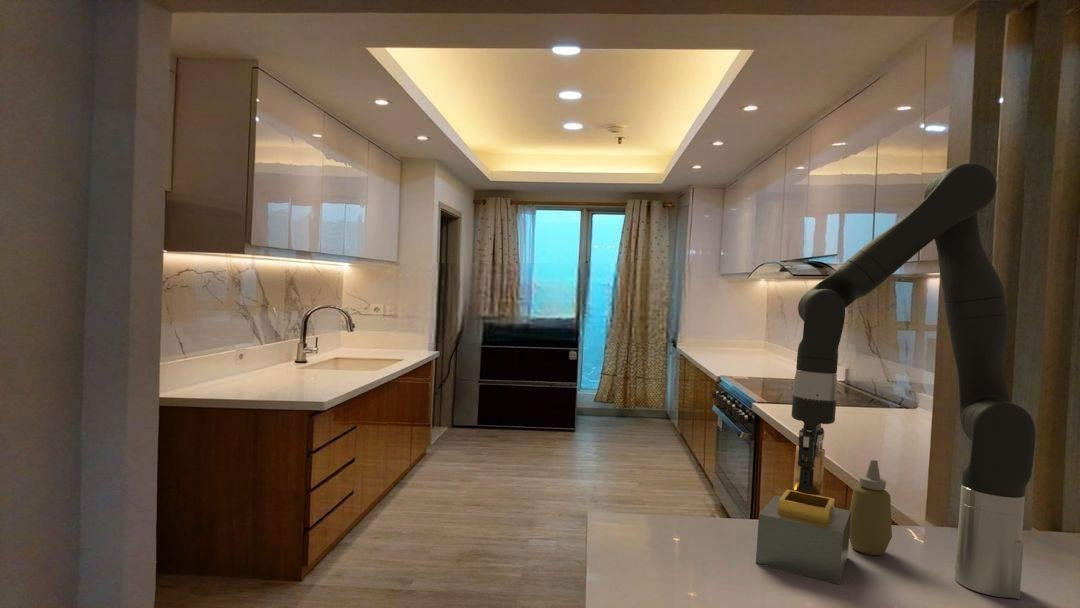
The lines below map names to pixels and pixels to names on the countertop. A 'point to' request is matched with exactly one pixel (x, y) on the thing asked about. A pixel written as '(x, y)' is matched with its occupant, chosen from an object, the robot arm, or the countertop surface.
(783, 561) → the grey boxy block
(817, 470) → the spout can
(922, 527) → the countertop surface
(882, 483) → the squeeze bottle
